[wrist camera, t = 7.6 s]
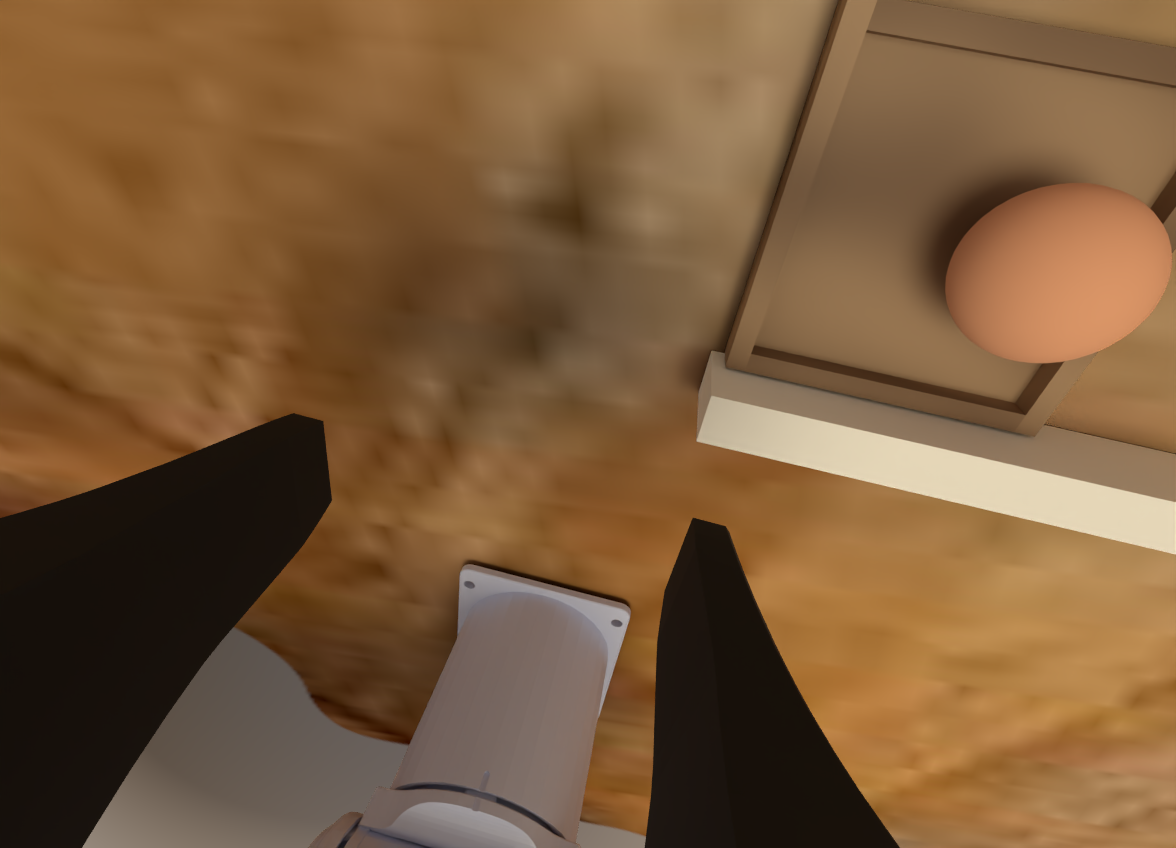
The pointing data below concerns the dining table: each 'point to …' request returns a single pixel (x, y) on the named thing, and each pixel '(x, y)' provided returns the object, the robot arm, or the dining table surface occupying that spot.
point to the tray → (939, 197)
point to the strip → (946, 456)
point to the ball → (1058, 273)
